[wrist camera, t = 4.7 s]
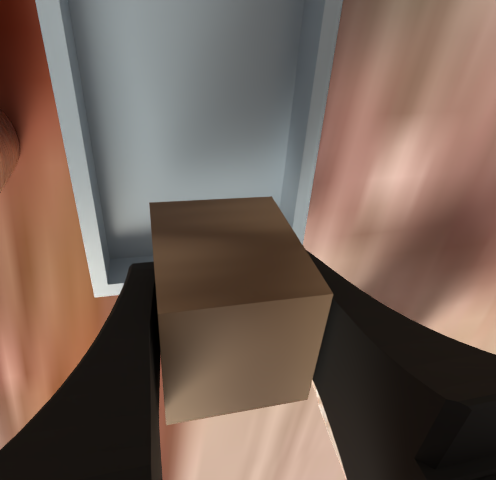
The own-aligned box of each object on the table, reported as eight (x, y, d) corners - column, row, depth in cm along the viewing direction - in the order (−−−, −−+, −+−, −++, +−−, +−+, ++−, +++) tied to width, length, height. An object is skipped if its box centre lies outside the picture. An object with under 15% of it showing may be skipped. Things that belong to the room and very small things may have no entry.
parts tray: (98, 263, 18) (94, 297, 16) (23, -151, 11) (-1, -178, 9) (281, 246, 20) (297, 275, 19) (328, -109, 13) (363, -124, 11)
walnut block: (156, 299, 14) (165, 425, 10) (148, 202, 12) (157, 313, 8) (261, 288, 15) (307, 399, 11) (271, 196, 13) (333, 293, 9)
